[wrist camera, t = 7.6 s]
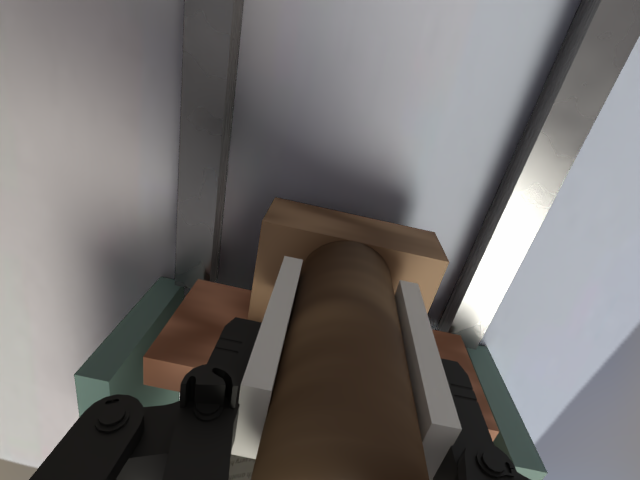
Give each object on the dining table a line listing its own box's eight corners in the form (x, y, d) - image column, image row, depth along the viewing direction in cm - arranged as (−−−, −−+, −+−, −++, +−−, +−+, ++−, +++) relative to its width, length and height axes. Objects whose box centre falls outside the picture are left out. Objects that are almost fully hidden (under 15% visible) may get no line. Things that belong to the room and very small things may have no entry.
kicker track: (185, 271, 23) (174, 284, 21) (212, -295, 13) (196, -338, 11) (468, 332, 23) (475, 349, 22) (716, -169, 13) (760, -196, 12)
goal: (158, 430, 29) (96, 549, 22) (160, 276, 23) (74, 374, 16) (413, 482, 30) (434, 616, 23) (486, 346, 23) (547, 473, 16)
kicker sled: (196, 302, 21) (34, 553, 10) (204, 181, 18) (-18, 362, 7) (450, 356, 21) (551, 655, 11) (503, 247, 18) (725, 516, 7)
